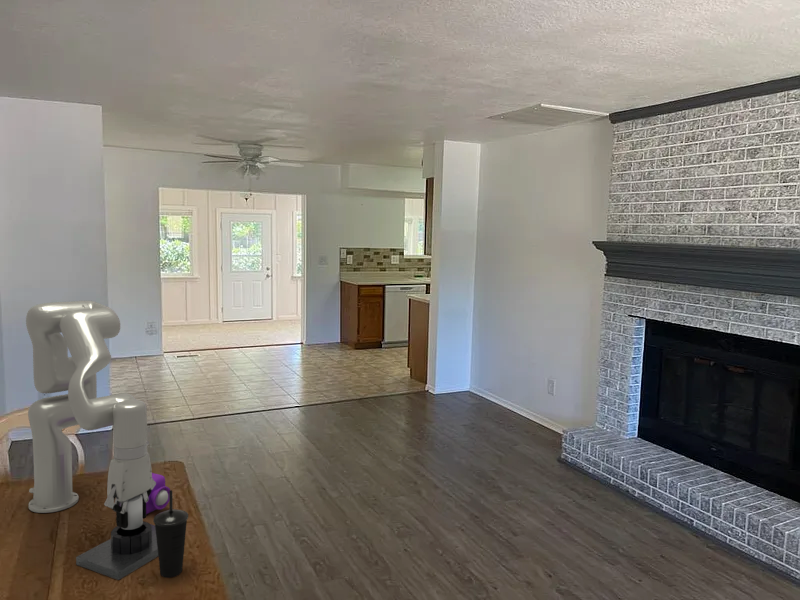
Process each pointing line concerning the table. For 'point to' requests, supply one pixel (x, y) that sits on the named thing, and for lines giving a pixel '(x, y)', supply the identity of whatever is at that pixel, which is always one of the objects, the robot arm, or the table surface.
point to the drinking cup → (170, 539)
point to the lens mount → (122, 552)
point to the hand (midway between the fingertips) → (131, 521)
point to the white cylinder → (134, 512)
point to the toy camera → (158, 494)
